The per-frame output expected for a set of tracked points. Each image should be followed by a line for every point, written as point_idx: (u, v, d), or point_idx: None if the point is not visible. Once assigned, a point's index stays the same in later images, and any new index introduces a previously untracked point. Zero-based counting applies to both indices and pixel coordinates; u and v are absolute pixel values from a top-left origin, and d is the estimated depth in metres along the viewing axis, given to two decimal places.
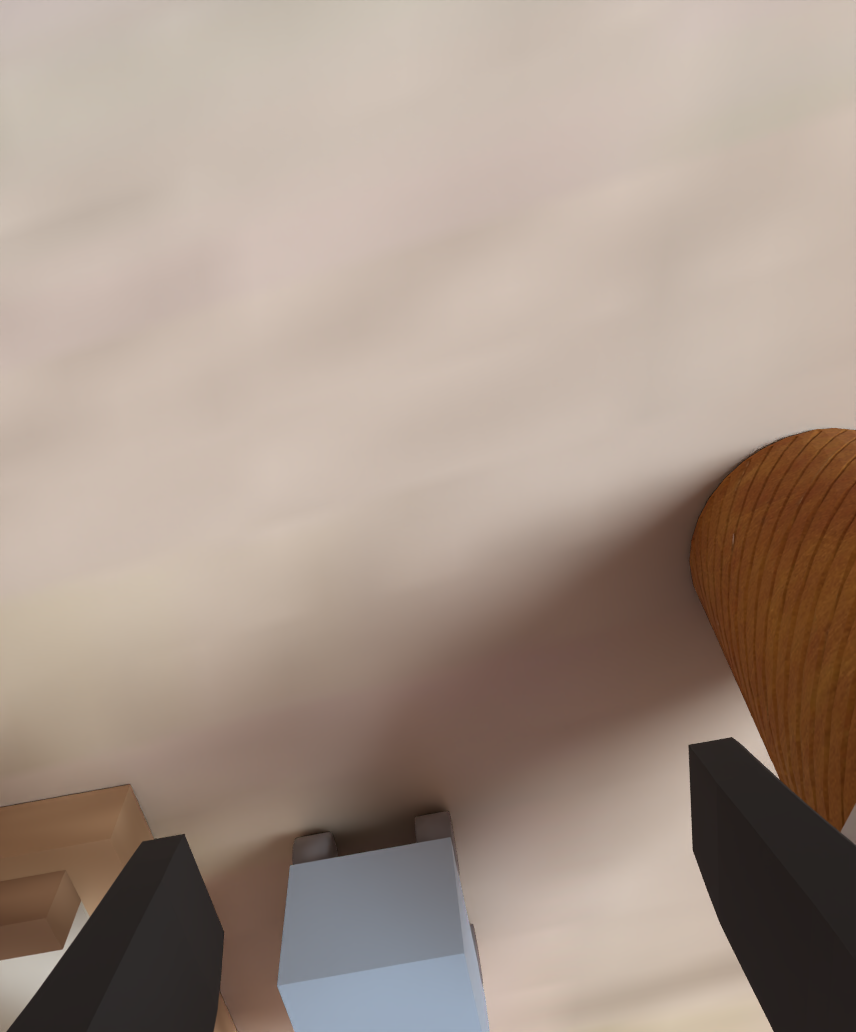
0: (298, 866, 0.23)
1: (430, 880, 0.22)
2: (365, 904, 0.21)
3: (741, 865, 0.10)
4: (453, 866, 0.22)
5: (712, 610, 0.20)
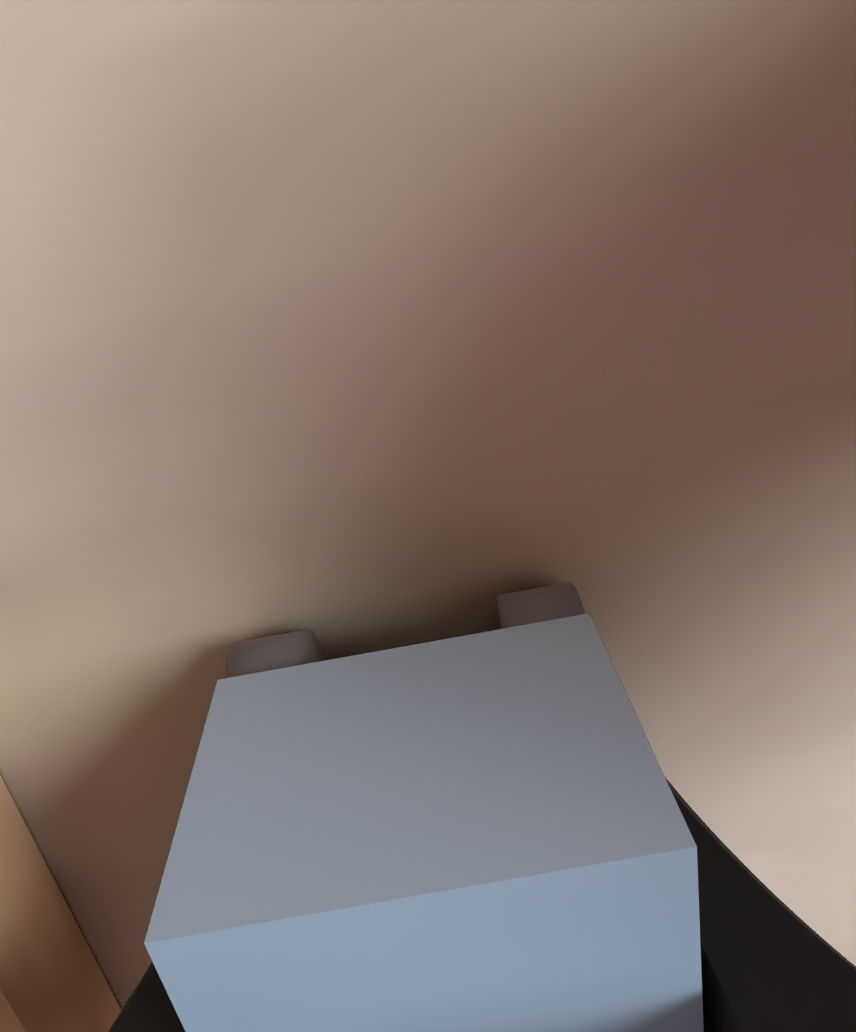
0: (236, 680, 0.10)
1: (558, 690, 0.09)
2: (395, 744, 0.08)
3: None
4: (609, 663, 0.09)
5: None
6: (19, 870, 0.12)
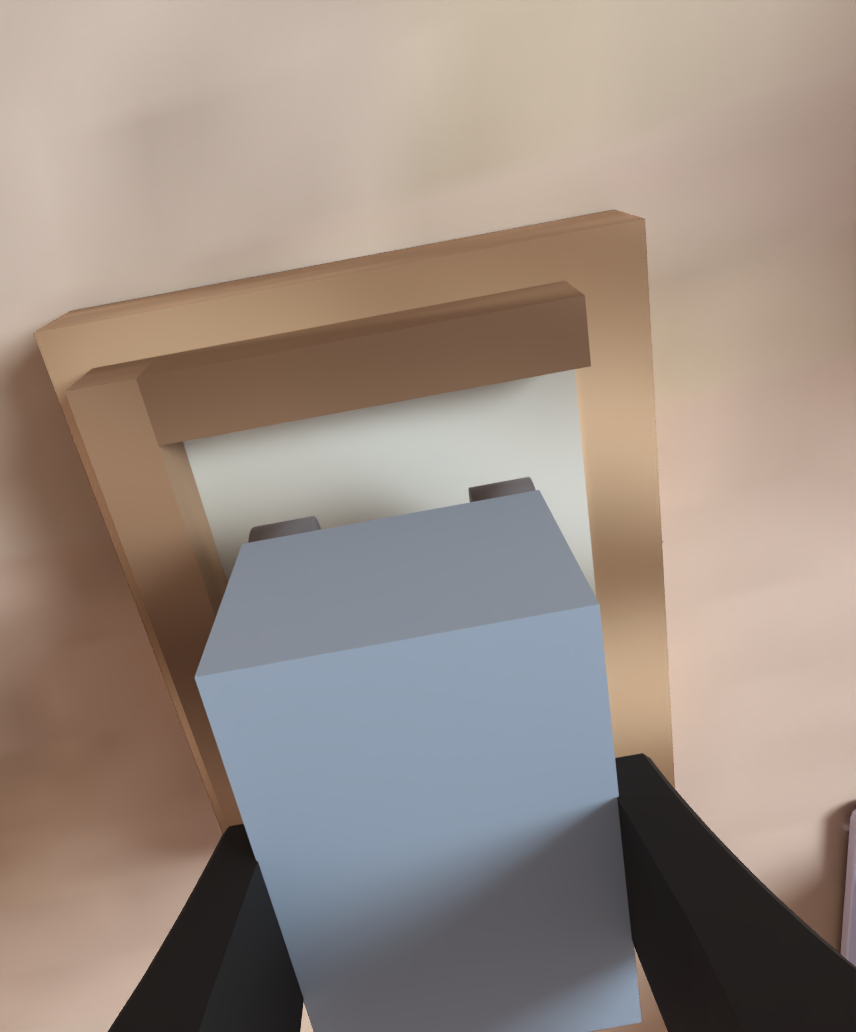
0: (257, 543, 0.12)
1: (509, 533, 0.11)
2: (382, 569, 0.11)
3: (641, 883, 0.10)
4: (551, 517, 0.12)
5: None
6: None
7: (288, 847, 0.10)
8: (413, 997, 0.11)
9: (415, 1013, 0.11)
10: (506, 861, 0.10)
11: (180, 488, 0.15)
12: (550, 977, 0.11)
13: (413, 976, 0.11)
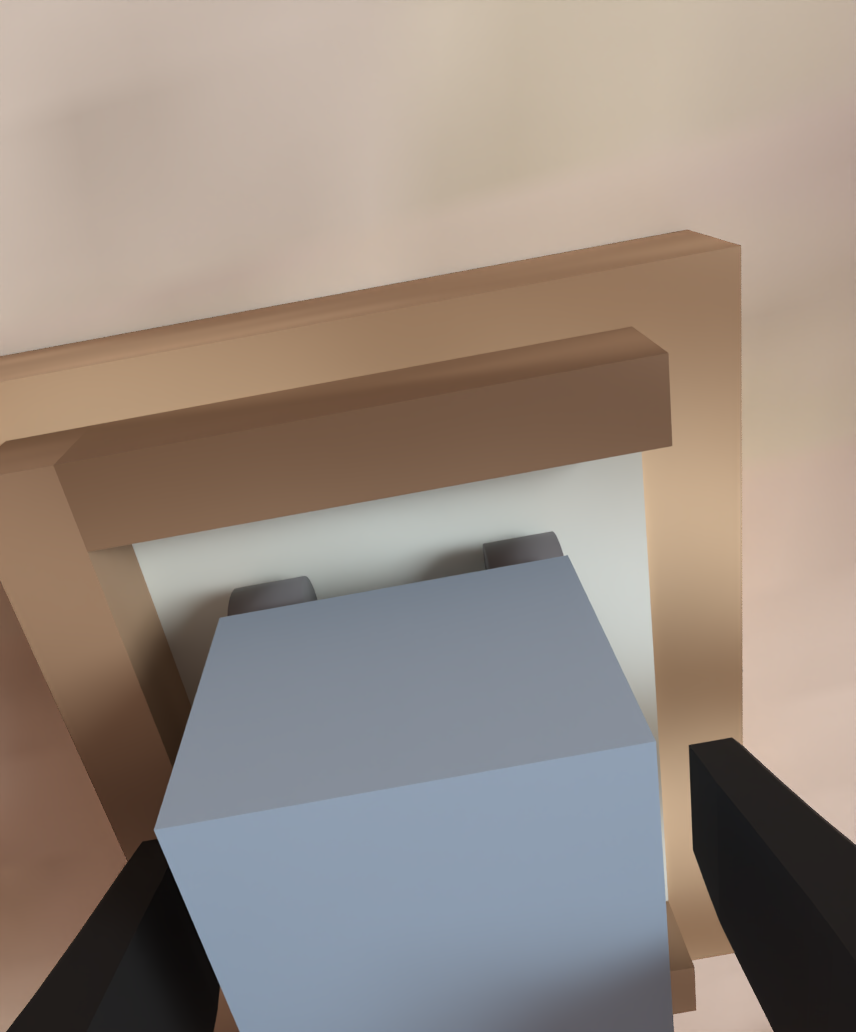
0: (237, 618, 0.11)
1: (536, 619, 0.09)
2: (384, 667, 0.09)
3: (741, 865, 0.10)
4: (584, 596, 0.10)
5: None
6: None
7: (273, 1007, 0.09)
8: None
9: None
10: (533, 1016, 0.09)
11: (122, 600, 0.11)
12: None
13: None
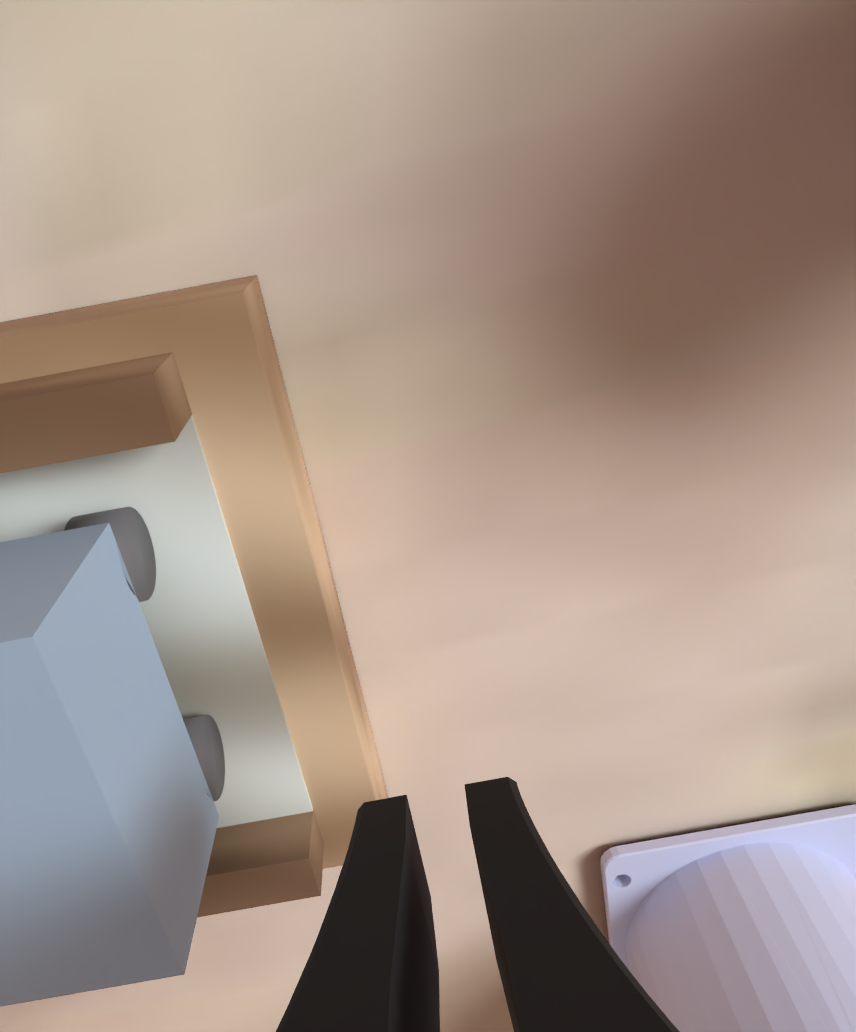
0: None
1: (44, 565, 0.13)
2: None
3: (489, 909, 0.10)
4: (91, 550, 0.13)
5: None
6: (321, 548, 0.18)
7: None
8: None
9: None
10: (20, 843, 0.13)
11: None
12: (90, 937, 0.14)
13: None
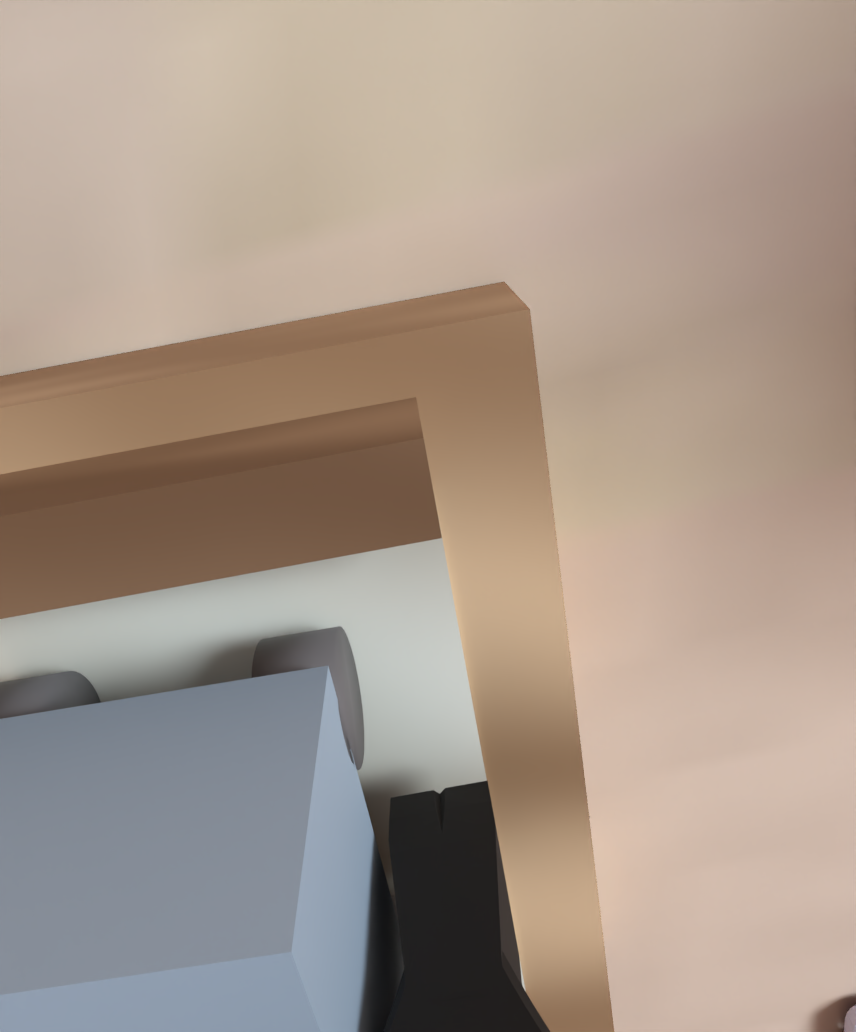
0: None
1: (252, 755, 0.08)
2: (65, 812, 0.08)
3: None
4: (320, 725, 0.08)
5: None
6: None
7: None
8: None
9: None
10: None
11: None
12: None
13: None
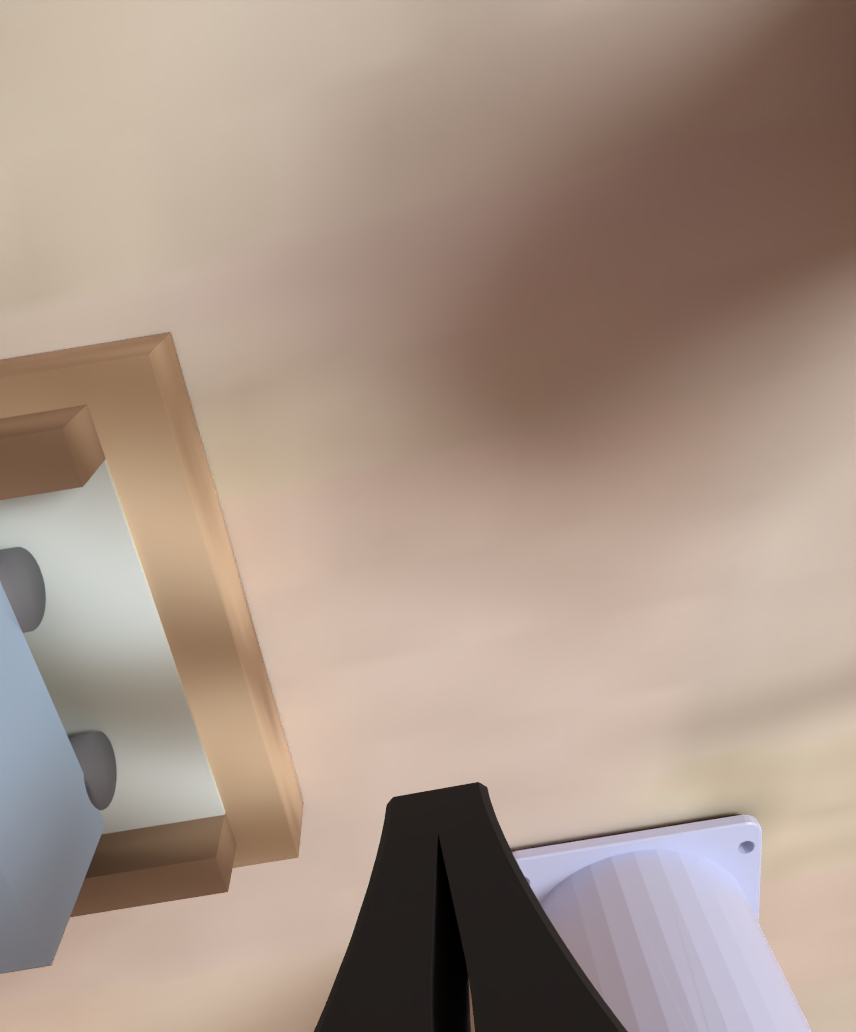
0: None
1: None
2: None
3: None
4: None
5: None
6: (233, 576, 0.20)
7: None
8: None
9: None
10: None
11: None
12: None
13: None
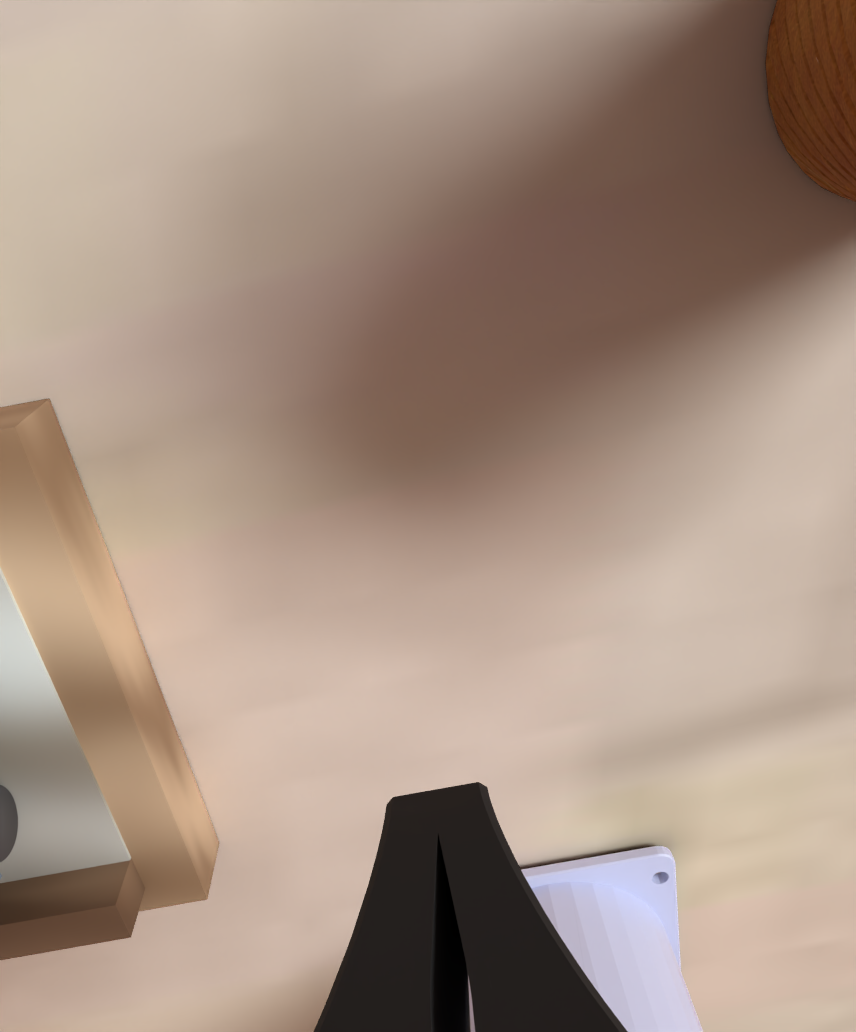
0: None
1: None
2: None
3: None
4: None
5: (806, 63, 0.15)
6: (126, 630, 0.21)
7: None
8: None
9: None
10: None
11: None
12: None
13: None
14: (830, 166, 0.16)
